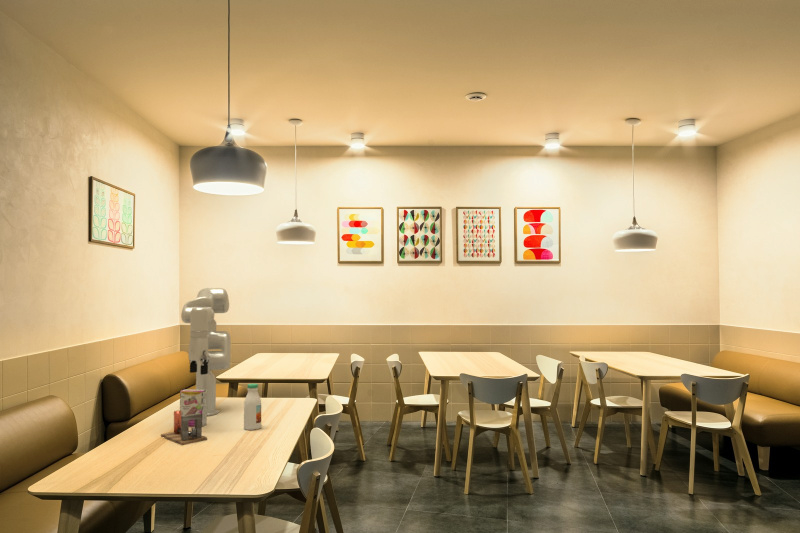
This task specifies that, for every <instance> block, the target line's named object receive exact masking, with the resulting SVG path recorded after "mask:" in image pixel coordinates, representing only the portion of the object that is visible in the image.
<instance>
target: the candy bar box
mask: <svg viewBox="0 0 800 533" xmlns="http://www.w3.org/2000/svg"><path fill="white" fill-rule="evenodd" d="M179 411H181V416H185V415H191V414H197V413H201V414H202V428H203V427H204V426H206V425H207V423H208V422H207V419H208V418H207V417H208V416H207V390H196V389H193V388H191V389H190V388H187V389H183V390H180V392H179ZM189 427H190V428H191V427H192V428H195V420H189Z"/></svg>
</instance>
